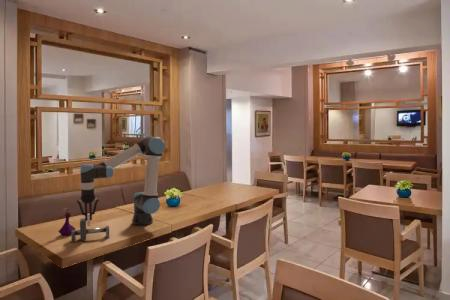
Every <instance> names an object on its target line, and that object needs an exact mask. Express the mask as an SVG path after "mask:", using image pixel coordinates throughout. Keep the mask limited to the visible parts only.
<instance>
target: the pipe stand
mask: <svg viewBox="0 0 450 300" xmlns="http://www.w3.org/2000/svg"><path fill="white" fill-rule="evenodd" d="M100 233H105V238H106V239H110V226H109V225H106V226H104V227H95V228H86V235H91V234H100ZM76 236H80V229H78V230H77V229H75V230H72V232H71V243H76V240H77V237H76Z"/></svg>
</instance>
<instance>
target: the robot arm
mask: <svg viewBox="0 0 450 300" xmlns="http://www.w3.org/2000/svg"><path fill="white" fill-rule="evenodd" d="M165 150H166V143H165V141H164V139H162V137H161V138H160V137H158V136H147V137H145V138H142V139H141V140H139V141H137V142H135V143H134V145H133V146H131V147H128V148H126V149H125V150H122V151H120V152H119V153H117V154H115V155H113V156H112V157H109V158H107V159H106V160H104V161H101V162H100V163H98V164H97V163H96V164H93V163H91V164H90V163H89V164H88V163H86V164H85V163H84V164H81V165H80V171H79V173H80V192H81V193H80V195H81V196H80V199H78V200H77V201H76V203H77V204H78V206H79V209H80V212H81V215H82V216H84V218H85V220H86V225H87V227H90V226H91V221H92V220H93V215H95V213H96V210H97V205H98V203H99V201H100V199H99V198H97V197H96V196H95V189H94V188H95V180H96V179H109V178H112V177H114V169H115V168H117V167H119V166H121V165H122V164H124V163H127V162H128V161H130V160H132V159H133V158H136V157H137V156H143V155H145V157H146V169H145V177H144V178H145V181H144V191H140V192H135V193H134V194H133V216H132V219H131V224H132V225H133V226H139V227H141V226H147V225H151V224H152V223H153V222H154V218H153V216H152V214H155V213H157V212H158V211H159V210H160V207H161V201H160V199H159V193H158V191H157V190H158V181H159V180H158V177H159V168H160V167H159V166H160V159H161V158H162V157H163V153H164V151H165ZM93 202H94V206H93V210H92V203H93ZM82 203H83V204H84V206H83V204H82ZM88 204H89V214H88ZM83 207H84V208H83Z"/></svg>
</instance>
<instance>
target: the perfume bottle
mask: <svg viewBox="0 0 450 300" xmlns="http://www.w3.org/2000/svg"><path fill="white" fill-rule="evenodd" d="M62 210H63V213H65V214H64V217H65V221H64V223H63V225H62V227H61V228H60V229H59V230H58V233H59V234H60V235H62V237H65V236H66V237H69V236H70V235H71V232H72V230H75V231H76V228H75V227H74V226H73V225H72V224H71V223H70V217H72V214H71V211H69V208H63V209H62Z"/></svg>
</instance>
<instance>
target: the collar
mask: <svg viewBox="0 0 450 300" xmlns="http://www.w3.org/2000/svg"><path fill="white" fill-rule="evenodd" d="M86 229H87V221H86V220H85V217H84V218H83V217H82V218H80V221H79V230H80V235H79V236H80V242H82V241H87V234H86Z"/></svg>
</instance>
